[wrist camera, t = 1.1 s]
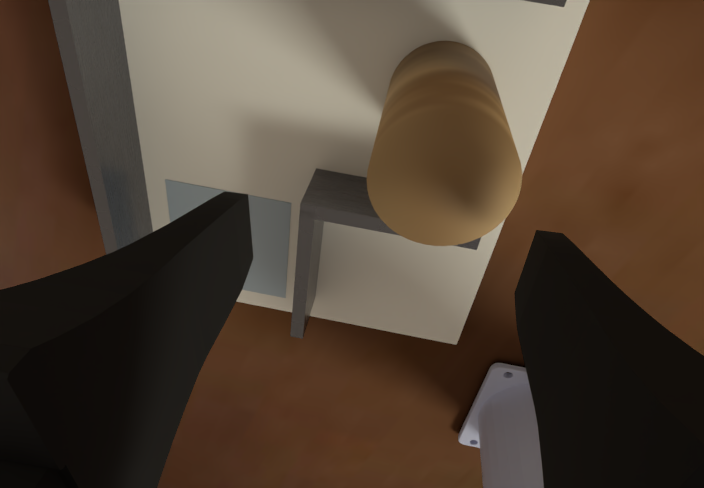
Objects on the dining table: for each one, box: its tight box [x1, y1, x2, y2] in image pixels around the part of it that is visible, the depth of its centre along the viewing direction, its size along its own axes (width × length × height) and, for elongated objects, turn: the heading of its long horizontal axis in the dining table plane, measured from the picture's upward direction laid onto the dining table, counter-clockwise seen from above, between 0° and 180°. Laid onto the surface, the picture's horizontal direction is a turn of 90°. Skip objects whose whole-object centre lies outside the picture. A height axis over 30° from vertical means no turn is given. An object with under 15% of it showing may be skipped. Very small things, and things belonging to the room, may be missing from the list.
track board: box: [119, 0, 590, 345], centre depth 21 cm, size 18×18×1 cm
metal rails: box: [48, 0, 567, 339], centre depth 19 cm, size 16×16×3 cm
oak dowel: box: [367, 41, 522, 246], centre depth 15 cm, size 4×4×7 cm
